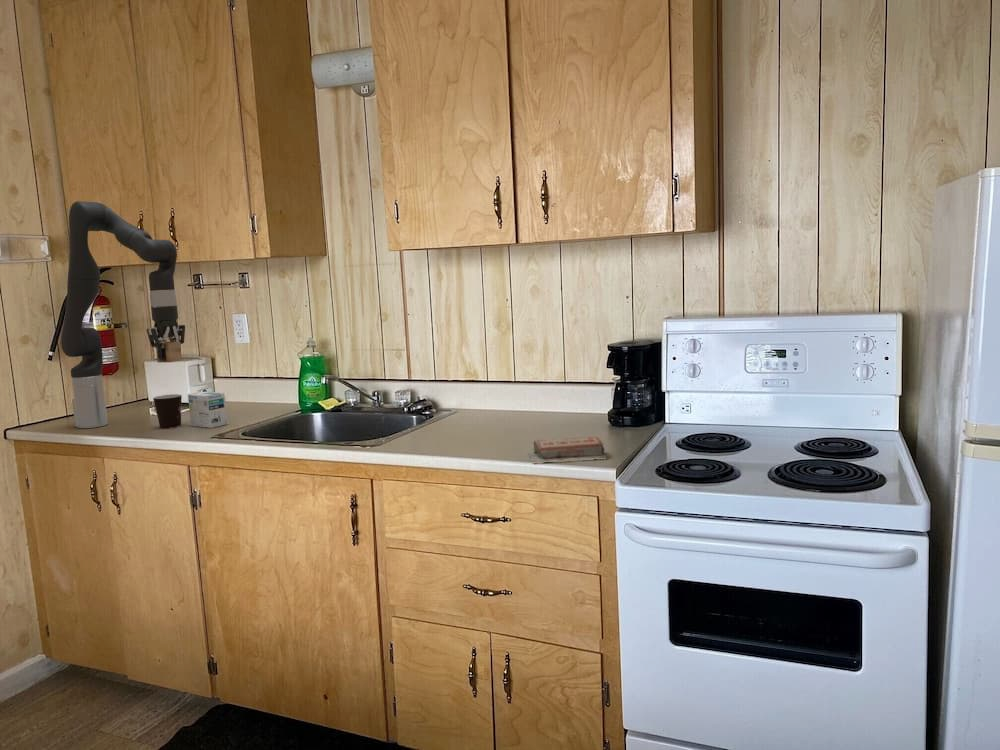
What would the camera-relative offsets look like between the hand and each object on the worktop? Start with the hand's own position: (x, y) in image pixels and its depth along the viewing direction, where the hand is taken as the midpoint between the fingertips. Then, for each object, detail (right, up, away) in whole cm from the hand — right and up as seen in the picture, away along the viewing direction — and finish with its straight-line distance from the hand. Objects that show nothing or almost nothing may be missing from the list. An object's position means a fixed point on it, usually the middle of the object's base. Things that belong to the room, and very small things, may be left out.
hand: (169, 359), depth 239 cm
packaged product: (+120, -26, -51) cm, 133 cm away
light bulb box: (+8, -22, +13) cm, 26 cm away
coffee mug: (-5, -22, +15) cm, 27 cm away
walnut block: (0, -1, 0) cm, 1 cm away
